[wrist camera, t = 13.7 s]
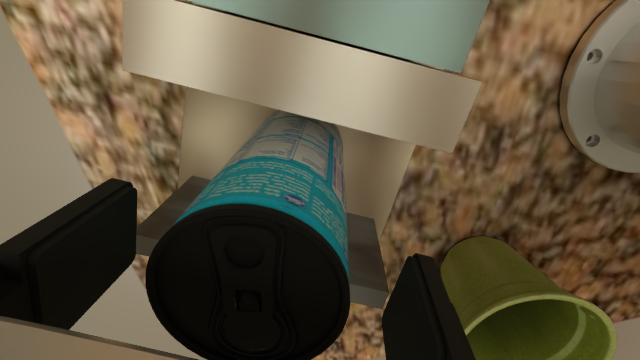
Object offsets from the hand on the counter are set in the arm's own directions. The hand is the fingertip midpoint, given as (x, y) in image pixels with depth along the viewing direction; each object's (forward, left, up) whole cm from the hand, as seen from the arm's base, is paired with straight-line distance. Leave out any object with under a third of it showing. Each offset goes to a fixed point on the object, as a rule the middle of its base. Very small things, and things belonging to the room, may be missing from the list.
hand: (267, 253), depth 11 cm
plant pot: (-17, +7, -15) cm, 23 cm away
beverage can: (0, 0, -13) cm, 13 cm away
